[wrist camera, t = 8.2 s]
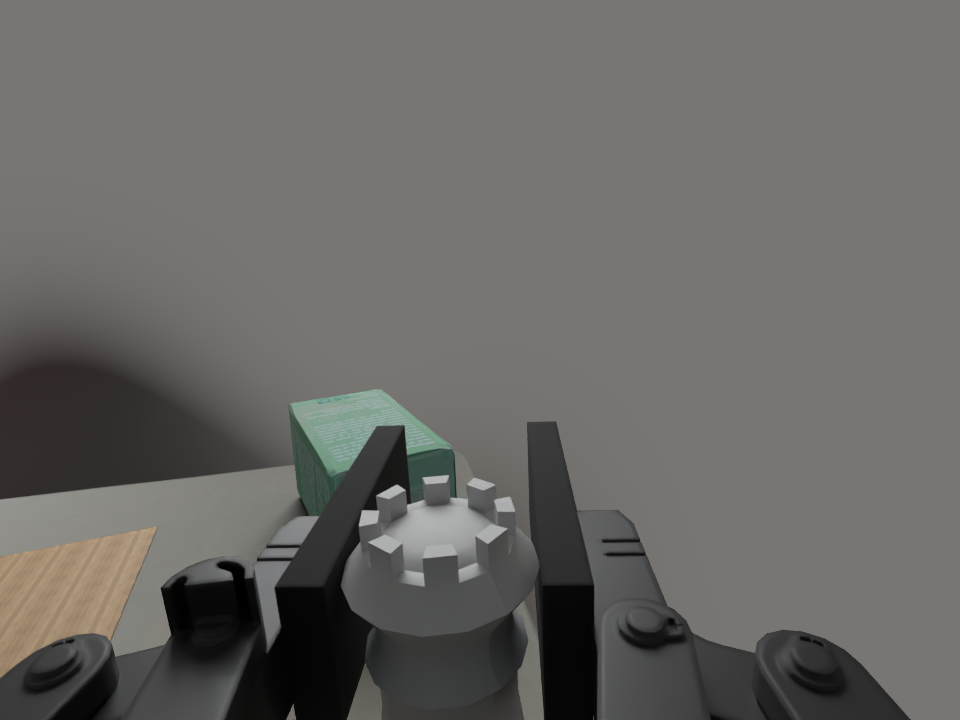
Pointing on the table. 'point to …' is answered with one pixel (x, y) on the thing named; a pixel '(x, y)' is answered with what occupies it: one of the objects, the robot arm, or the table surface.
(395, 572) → the rook chess piece
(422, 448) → the box
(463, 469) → the table surface
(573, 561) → the robot arm
